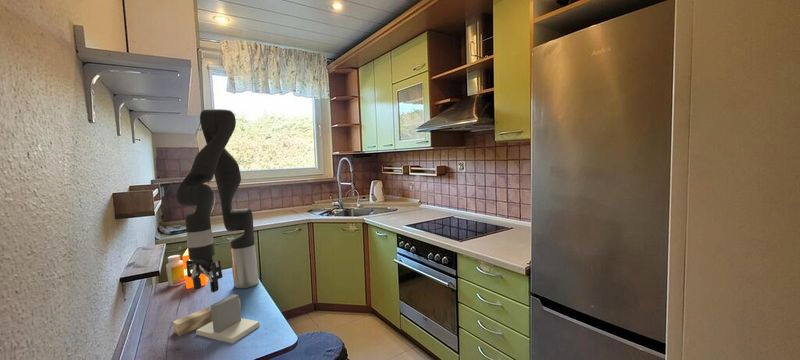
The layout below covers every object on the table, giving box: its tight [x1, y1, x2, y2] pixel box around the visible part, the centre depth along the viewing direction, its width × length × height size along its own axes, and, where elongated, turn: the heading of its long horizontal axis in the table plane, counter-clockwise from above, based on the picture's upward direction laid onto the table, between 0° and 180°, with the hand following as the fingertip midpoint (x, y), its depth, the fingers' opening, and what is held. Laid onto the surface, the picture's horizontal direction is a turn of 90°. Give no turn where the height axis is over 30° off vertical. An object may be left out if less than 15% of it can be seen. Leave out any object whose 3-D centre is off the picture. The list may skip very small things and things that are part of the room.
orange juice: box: [181, 247, 210, 290], centre depth 146 cm, size 8×9×20 cm
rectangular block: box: [172, 298, 242, 337], centre depth 112 cm, size 20×4×4 cm, turn 144°
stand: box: [195, 293, 260, 345], centre depth 103 cm, size 16×10×10 cm, turn 66°
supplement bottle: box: [165, 254, 186, 287], centre depth 148 cm, size 7×7×13 cm
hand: (206, 290), depth 111 cm, fingers open, 8 cm apart
